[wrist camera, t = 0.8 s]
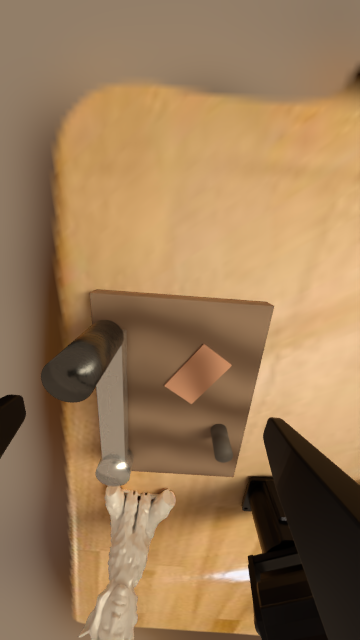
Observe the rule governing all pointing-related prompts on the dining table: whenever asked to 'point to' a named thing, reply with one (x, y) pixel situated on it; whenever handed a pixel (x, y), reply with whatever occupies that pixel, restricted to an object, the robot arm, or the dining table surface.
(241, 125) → the dining table surface
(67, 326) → the dining table surface
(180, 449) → the board
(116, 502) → the sitting furry creature
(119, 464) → the lever
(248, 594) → the dining table surface
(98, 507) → the dining table surface
